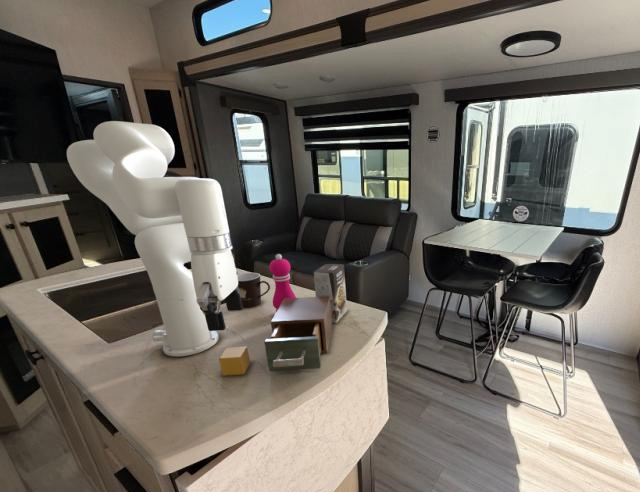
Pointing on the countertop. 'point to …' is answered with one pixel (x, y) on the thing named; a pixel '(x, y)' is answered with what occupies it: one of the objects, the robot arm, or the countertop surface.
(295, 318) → the cabinet
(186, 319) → the robot arm
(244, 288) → the coffee mug
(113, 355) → the countertop surface
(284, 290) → the pepper mill
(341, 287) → the coffee box
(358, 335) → the countertop surface
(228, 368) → the block
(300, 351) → the drawer
